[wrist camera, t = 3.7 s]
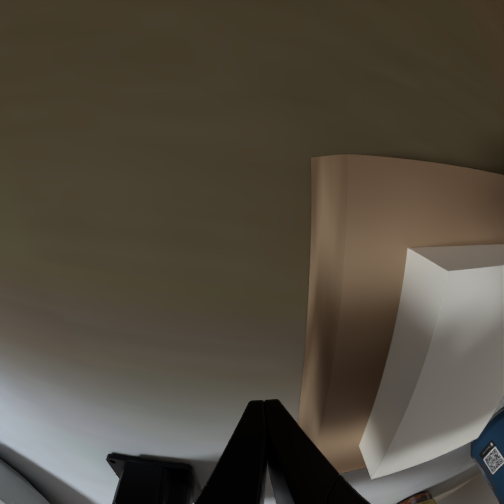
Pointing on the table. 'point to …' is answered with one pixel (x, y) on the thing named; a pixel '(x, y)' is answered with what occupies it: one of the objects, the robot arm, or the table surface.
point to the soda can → (491, 454)
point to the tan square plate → (374, 275)
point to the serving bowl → (17, 488)
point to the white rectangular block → (440, 358)
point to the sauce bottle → (420, 499)
